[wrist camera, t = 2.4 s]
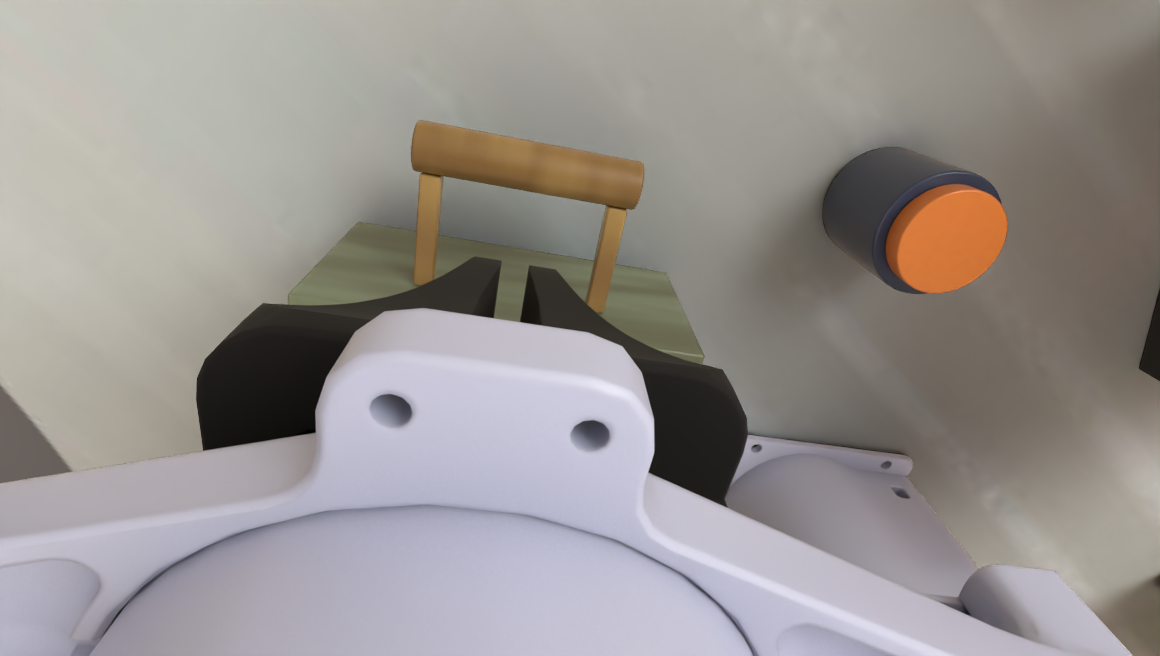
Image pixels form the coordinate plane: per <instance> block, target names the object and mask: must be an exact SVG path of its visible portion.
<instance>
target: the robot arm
mask: <svg viewBox="0 0 1160 656" xmlns="http://www.w3.org/2000/svg"><path fill="white" fill-rule="evenodd" d="M501 263H502V261H501V260H495V259H489V258H483V257H476V256H475V257H472V258H471V259H469V260H468V261H466V262H464V263H463V264H461V265H460V266H458V267H456V268H455V269H453V270H451V271H450V272H448V273H446V274H444V275H443V276H440V277H438V278H436V279H434V280H432V281H430V282H428V283H426V284H424V285H422V286H419V287H417V288H414V289H411V290H409V291H406V292H402V293H399V294H396V295H392V296H388V297H384V298H378V299H373V300H368V301H362V302H356V303H347V304H335V305H284V304H265V303H263V304H262V305H260V306H259V307H258V308H257V309H256V310H255V311H253V312H252V313H251V314H250V315H249V316H248V317H247V318H245V319H244V320H243V321H242V322H241V323H240V324H239V325H238V326H237V327H236V328H235V329H234V330H233V331H232V332H231V333H230V334H229V335H228V336H227V337H226V338H225V339H224V340H223V341H222V342H221V343H220V344H219V345H218V346H217V347H216V349H215V350H214V351H213V352H212V353H211V354H210V355H209V356H208V357H207V358H206V359H205V361H204V363H203V366H202V368H201V370H200V373H199V375H198V377H197V393H196V401H197V408H198V416H199V423H200V430H201V437H202V444H203V451H199V452H193V453H187V454H180V455H174V456H168V457H162V458H155V459H149V460H143V461H137V462H130V463H124V464H118V465H112V466H105V467H99V468H93V469H87V470H81V471H74V472H68V473H62V474H56V475H50V476H44V477H37V478H31V479H25V480H19V481H12V482H6V483H0V656H1133V655H1132V654H1131V653H1130V652H1129V651H1128V650H1127V648H1126V647H1125V646H1124V645H1123V644H1122V643H1121V642H1120V641H1119V640H1118V639H1117V638H1116V637H1115V635H1114V634H1113V633H1112V632H1111V631H1110V630H1109V629H1108V628H1107V627H1106V626H1105V625H1104V623H1103V622H1102V621H1101V620H1100V619H1099V618H1098V617H1097V616H1096V615H1095V614H1094V613H1093V612H1092V610H1091V609H1090V608H1089V607H1088V606H1087V605H1086V604H1085V603H1084V602H1083V601H1082V600H1081V599H1080V597H1079V596H1078V595H1077V594H1076V593H1075V592H1074V591H1073V590H1072V589H1071V588H1070V587H1069V586H1068V584H1067V583H1066V582H1065V581H1064V580H1063V579H1062V578H1061V577H1060V576H1059V575H1058V574H1057V572H1056V571H1053V570H1046V569H1037V568H1027V567H1018V566H1008V565H999V564H997V565H987V566H985V567H983V568H980V569H979V568H978V567H977V566H976V564H975V563H974V561H973V560H972V559H971V557H970V556H969V555H968V554H967V552H966V551H965V550H964V549H963V547H962V546H961V545H960V543H959V542H958V541H957V540H956V538H955V537H954V536H953V535H952V533H951V532H950V531H949V529H948V528H947V527H946V526H945V524H944V523H943V522H942V521H941V519H940V518H939V517H938V515H937V514H936V513H935V512H934V510H933V509H932V508H931V507H930V505H929V504H928V503H927V501H926V500H925V499H924V498H923V496H922V495H921V494H920V493H919V491H918V490H917V489H916V488H915V486H914V485H913V484H912V482H911V481H910V480H909V479H908V477H907V476H908V475H909V473H910V471H911V469H912V468H913V462H912V460H911V459H910V458H909V457H908V456H906V455H899V454H892V453H884V452H876V451H869V450H861V449H853V448H846V447H838V446H830V445H823V444H815V443H807V442H800V441H792V440H784V439H777V438H769V437H761V436H754V435H748V430H747V418H746V415H745V413H744V411H743V409H742V406H741V404H740V402H739V400H738V398H737V395H736V393H735V391H734V389H733V387H732V385H731V383H730V382H729V380H728V378H727V376H726V375H725V373H724V371H723V370H721V369H718V368H714V367H710V366H706V365H702V364H698V363H694V362H690V361H686V360H683V359H680V358H678V357H675V356H672V355H669V354H667V353H664V352H661V351H659V350H657V349H654V348H652V347H650V346H648V345H646V344H644V343H642V342H640V341H638V340H636V339H634V338H632V337H630V336H628V335H627V334H625V333H623V332H622V331H620V330H619V329H617V328H616V327H614V326H613V325H612V324H610V323H609V322H607V321H606V320H605V319H603V318H602V317H601V316H599V315H598V314H597V313H596V312H595V311H594V310H593V309H592V308H591V307H589V306H588V305H587V304H586V303H585V302H584V301H583V300H582V299H581V298H580V297H579V296H578V295H577V293H576V292H575V291H574V290H573V289H572V288H571V287H570V286H569V284H568V283H567V282H566V281H565V280H564V278H563V277H562V276H561V275H560V274H559V272H558V271H557V270H556V269H551V268H544V267H538V266H532V265H529V269H528V275H527V281H526V287H525V293H524V300H523V306H522V312H521V318H520V322H515V321H508V320H501V319H495V318H494V313H495V306H496V299H497V291H498V284H499V277H500V270H501ZM756 444H759V445H758V446H757V447H752V446H754V445H756ZM885 461H886V462H885ZM883 462H885V463H883ZM882 463H883V464H882Z"/></svg>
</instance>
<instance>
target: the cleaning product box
mask: <svg viewBox="0 0 1160 656" xmlns="http://www.w3.org/2000/svg"><path fill="white" fill-rule="evenodd" d="M1139 369H1140V370H1142V371H1143V372H1145V373H1147V374H1149V375H1150V376H1152V377H1154V378H1155V379H1157V380H1159V381H1160V292H1159V296H1158V300H1157V303H1156V307H1155V311H1154V315H1153V319H1152V322H1151V326H1150V330H1149V334H1148V338H1147V341H1146V345H1145V349H1144V353H1143V356H1142V360H1141V364H1140V368H1139Z"/></svg>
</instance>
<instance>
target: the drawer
mask: <svg viewBox="0 0 1160 656" xmlns="http://www.w3.org/2000/svg"><path fill="white" fill-rule="evenodd" d="M411 163H412V167H413V170H415V171H418V172H422V173H421V174H420V179H419V195H418V211H417V226H416V231H411V230H405V229H399V228H393V227H387V226H381V225H374V224H368V223H362V222H358V223H357V224H356V225H355V226H354V227H353V228H352V229H351V230H350V231H349V232H348V233H347V234H346V235H345V237H344V238H343V239H342V240H341V241H340V242H339V243H338V244H337V245H336V246H335V247H334V248H333V249H332V250H331V251H330V252H329V253H328V254H327V255H326V256H325V257H324V258H323V259H322V260H321V261H320V262H319V263H318V264H317V265H316V266H315V267H314V268H313V270H312V271H311V272H310V273H309V274H308V275H307V276H306V277H305V278H304V279H303V280H302V281H301V282H300V283H299V284H298V285H297V286H296V287H295V288H294V289H293V290H292V291H291V292H290V293H289V295H288V305H335V304H347V303H356V302H362V301H368V300H373V299H378V298H384V297H388V296H392V295H396V294H399V293H402V292H406V291H409V290H411V289H414V288H417V287H419V286H422V285H424V284H426V283H428V282H430V281H432V280H434V279H436V278H438V277H440V276H443V275H444V274H446V273H448V272H450V271H451V270H453V269H455V268H456V267H458V266H460V265H461V264H463V263H464V262H466V261H468V260H469V259H471V258H472V257H475V256H476V257H483V258H489V259H495V260H501V261H502V263H501V270H500V277H499V284H498V291H497V299H496V306H495V313H494V318H495V319H501V320H508V321H515V322H520V318H521V312H522V306H523V300H524V293H525V287H526V281H527V275H528V269H529V265H532V266H538V267H544V268H551V269H556V270H557V271H558V272H559V274H560V275H561V276H562V277H563V278H564V280H565V281H566V282H567V283H568V284H569V286H570V287H571V288H572V289H573V290H574V291H575V292H576V293H577V295H578V296H579V297H580V298H581V299H582V300H583V301H584V302H585V303H586V304H587V305H588V306H589V307H591V308H592V309H593V310H594V311H595V312H596V313H597V314H598V315H599V316H601V317H602V318H603V319H605V320H606V321H607V322H609V323H610V324H612V325H613V326H614V327H616V328H617V329H619V330H620V331H622V332H623V333H625V334H627V335H628V336H630V337H632V338H634V339H636V340H638V341H640V342H642V343H644V344H646V345H648V346H650V347H652V348H654V349H657V350H659V351H661V352H664V353H667V354H669V355H672V356H675V357H678V358H680V359H683V360H686V361H690V362H694V363H698V364H702V362H703V359H704V354H703V352H702V349H701V347H700V345H699V343H698V341H697V339H696V337H695V334H694V332H693V330H692V328H691V326H690V324H689V321H688V319H687V317H686V315H685V313H684V311H683V308H682V306H681V304H680V302H679V300H678V298H677V296H676V293H675V291H674V289H673V287H672V285H671V283H670V280H669V278H668V276H667V274H666V273H665V272H659V271H653V270H647V269H641V268H635V267H628V266H622V265H616V264H615V261H616V257H617V253H618V248H619V244H620V240H621V236H622V231H623V227H624V223H625V219H626V214H627V210H626V209H630V210H632V209H635V207H636V206H637V204H638V201H639V198H640V195H641V191H642V187H643V181H644V164H643V163H642V162H639V161H634V160H629V159H623V158H618V157H613V156H607V155H602V154H597V153H592V152H586V151H581V150H576V149H571V148H565V147H560V146H555V145H550V144H544V143H539V142H534V141H528V140H523V139H518V138H513V137H507V136H502V135H497V134H492V133H486V132H481V131H476V130H471V129H465V128H460V127H455V126H449V125H444V124H439V123H434V122H428V121H423V120H419V121H418V122H417V124H416V126H415V128H414V132H413V138H412V146H411ZM444 176H446V177H451V178H457V179H462V180H468V181H474V182H479V183H485V184H490V185H496V186H502V187H507V188H513V189H518V190H524V191H530V192H535V193H541V194H546V195H552V196H558V197H563V198H569V199H574V200H580V201H586V202H591V203H597V204H602V205H606V208H605V212H604V217H603V222H602V226H601V231H600V235H599V240H598V245H597V249H596V254H595V258H594V261H592V260H586V259H580V258H574V257H568V256H562V255H556V254H550V253H544V252H538V251H532V250H526V249H520V248H514V247H508V246H501V245H495V244H489V243H483V242H477V241H471V240H465V239H459V238H453V237H447V236H441V235H439V225H440V213H441V201H442V189H443V177H444Z"/></svg>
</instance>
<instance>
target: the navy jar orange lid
mask: <svg viewBox="0 0 1160 656" xmlns="http://www.w3.org/2000/svg"><path fill="white" fill-rule="evenodd" d="M823 222H824V226H825V229H826V232H827V234H828V236H829V237H830V239H831V240H832V241H833V242H834V243H835V244H836V245H837V246H838V247H839V248H841V249H842V250H843V251H845V252H846V253H847V254H848V255H850V256H851V257H852V258H854V259H855V260H856V261H858V262H859V263H860V264H861V265H863V266H864V267H865V268H867V269H868V270H869V271H870V272H872V273H873V274H874V275H876V276H877V277H878V278H879V279H881V280H882V281H883V282H885V283H886V284H887V285H889V286H890V287H892V288H894V289H896V290H898V291H901V292H905V293H911V294H926V293H944V292H949V291H953V290H956V289H958V288H961V287H963V286H965V285H967V284H969V283H971V282H972V281H974V280H975V279H977V278H978V277H979V276H981V275H982V274H983V273H984V272H985V271H986V270H987V269H988V268H989V267H990V266H991V265H992V263H993V262H994V261H995V260H996V258H997V256H998V255H999V253H1000V251H1001V249H1002V247H1003V245H1004V242H1005V239H1006V235H1007V217H1006V213H1005V211H1004V208H1003V207H1002V204H1001V200H1000V197H999V195H998V193H997V191H996V190H995V188H994V187H993V185H992V184H991V183H990V182H989V181H987V180H986V179H985V178H983V177H982V176H979V175H977V174H975V173H972V172H970V171H967V170H964V169H961V168H958V167H955V166H953V165H950V164H947V163H944V162H941V161H938V160H936V159H933V158H930V157H927V156H924V155H921V154H918V153H916V152H913V151H910V150H907V149H903V148H898V147H885V148H879V149H875V150H872V151H869V152H867V153H864V154H863V155H861V156H859V157H857V158H856V159H854V160H853V161H851V162H850V163H849V164H848V165H847V166H845V167H844V168H843V169H842V170H841V172H840V173H839V174H838V175H837V176H836V178H835V179H834V181H833V182H832V184H831V186H830V187H829V190H828V192H827V194H826V197H825V201H824V206H823Z"/></svg>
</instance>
